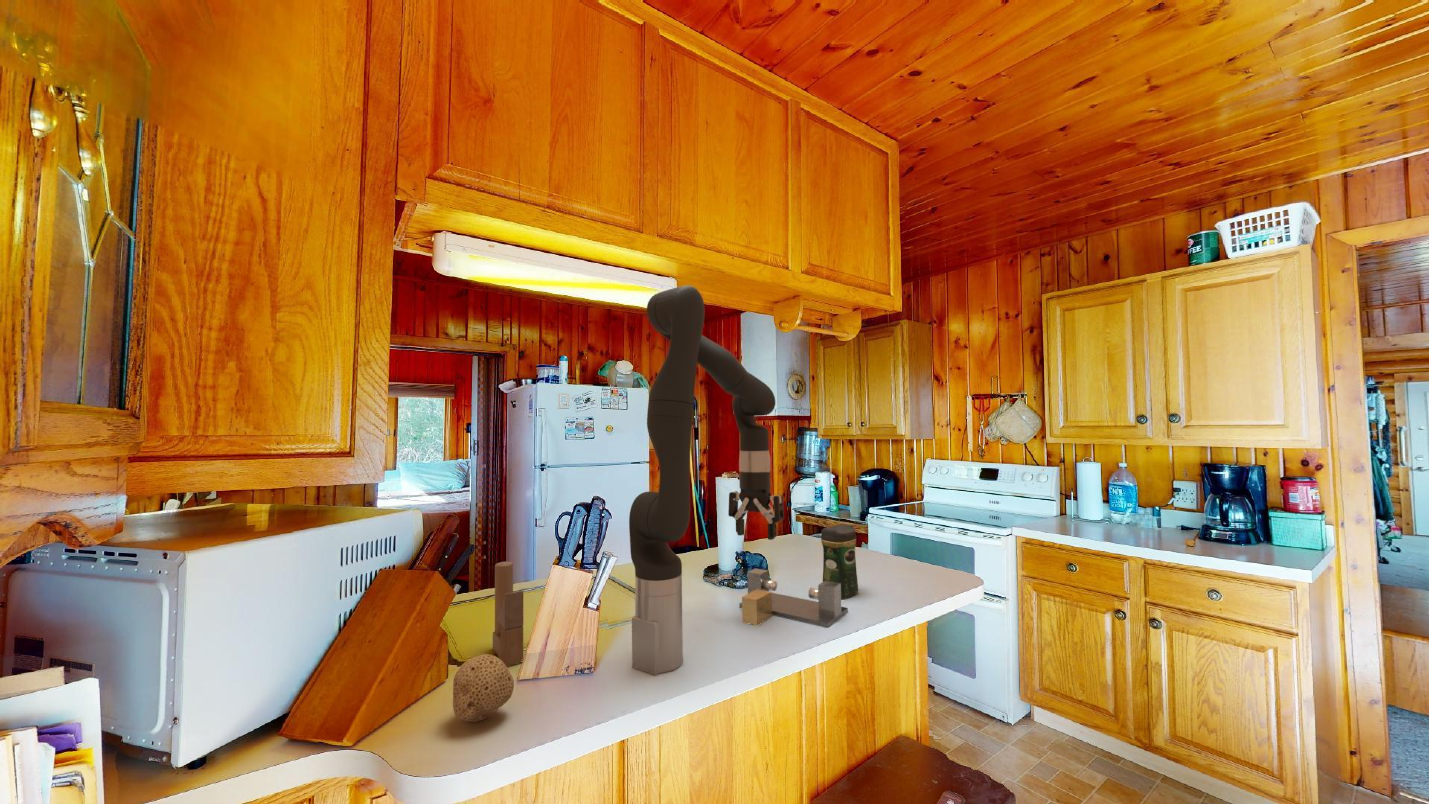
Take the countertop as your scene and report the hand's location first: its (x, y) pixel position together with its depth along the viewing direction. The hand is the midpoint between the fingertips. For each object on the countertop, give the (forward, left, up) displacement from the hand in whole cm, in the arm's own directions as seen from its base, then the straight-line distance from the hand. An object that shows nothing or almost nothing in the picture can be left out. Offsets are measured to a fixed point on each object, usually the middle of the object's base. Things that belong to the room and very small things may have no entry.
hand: (756, 537), depth 127 cm
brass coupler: (0, 0, -20) cm, 20 cm away
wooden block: (-46, +32, -20) cm, 59 cm away
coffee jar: (+28, -9, -20) cm, 36 cm away
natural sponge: (-62, +14, -20) cm, 66 cm away
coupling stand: (+10, -4, -20) cm, 23 cm away
